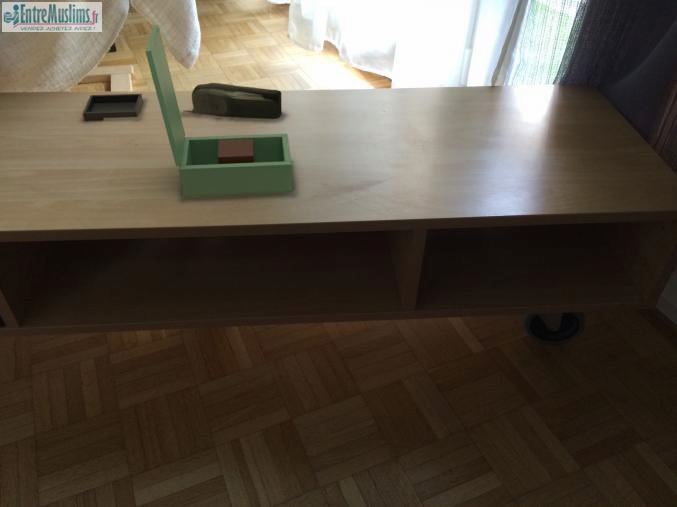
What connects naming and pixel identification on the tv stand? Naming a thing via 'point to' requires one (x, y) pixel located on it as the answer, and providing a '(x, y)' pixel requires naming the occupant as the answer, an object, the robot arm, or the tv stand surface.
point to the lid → (165, 93)
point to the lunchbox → (236, 167)
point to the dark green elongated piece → (236, 101)
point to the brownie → (235, 151)
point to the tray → (112, 106)
